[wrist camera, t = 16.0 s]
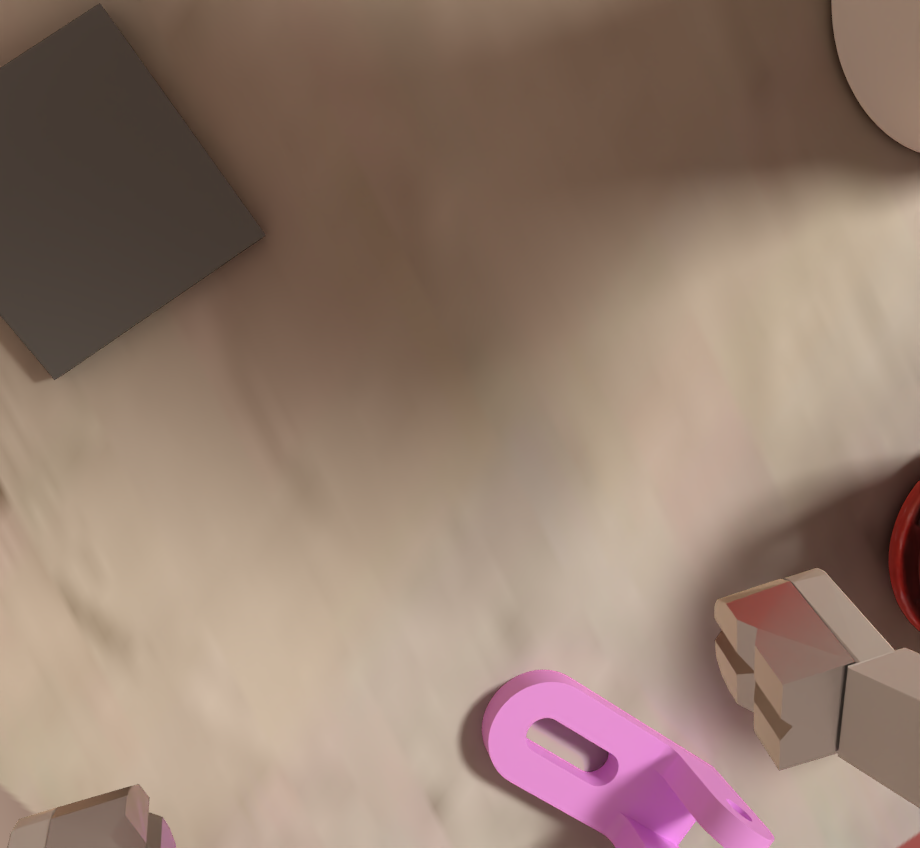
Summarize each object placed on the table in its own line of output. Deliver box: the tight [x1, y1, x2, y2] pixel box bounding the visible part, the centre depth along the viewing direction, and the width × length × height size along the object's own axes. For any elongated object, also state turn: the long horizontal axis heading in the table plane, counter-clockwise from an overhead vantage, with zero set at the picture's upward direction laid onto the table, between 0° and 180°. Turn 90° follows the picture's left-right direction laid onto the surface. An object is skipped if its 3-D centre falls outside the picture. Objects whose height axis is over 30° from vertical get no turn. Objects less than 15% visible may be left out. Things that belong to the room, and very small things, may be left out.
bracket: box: [482, 670, 774, 848], centre depth 40 cm, size 13×6×7 cm, turn 53°
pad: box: [0, 3, 265, 380], centre depth 33 cm, size 10×10×1 cm
